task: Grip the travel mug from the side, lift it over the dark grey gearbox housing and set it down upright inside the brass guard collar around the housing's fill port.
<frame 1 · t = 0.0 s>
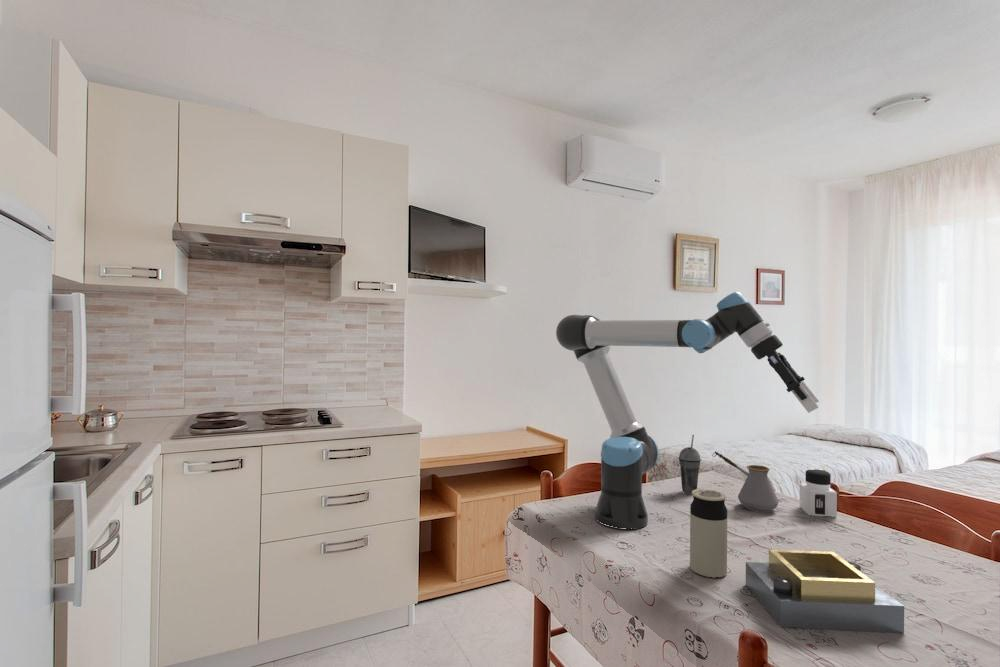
hand: (814, 406, 133), 36 cm above the table, tool tilted 35°, fingers open, 13 cm apart
beverage cup: (689, 493, 174), on the table
coffee pot: (742, 504, 163), on the table
container: (817, 513, 156), on the table
travel mug: (708, 571, 117), on the table
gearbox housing: (817, 606, 102), on the table
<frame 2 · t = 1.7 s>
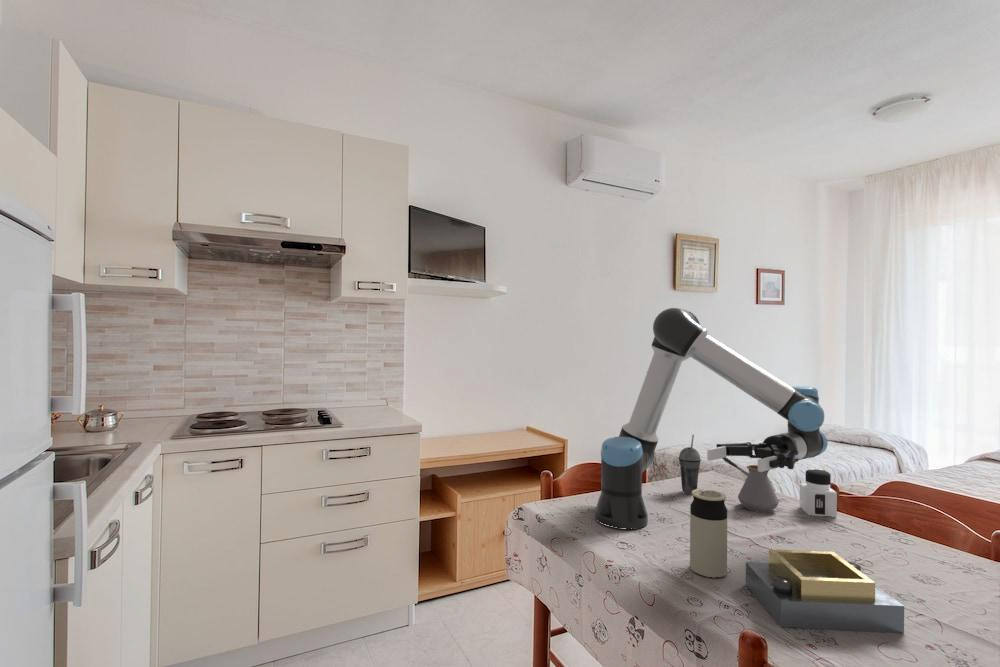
hand: (732, 460, 122), 24 cm above the table, tool horizontal, fingers open, 13 cm apart
nothing on the table moved.
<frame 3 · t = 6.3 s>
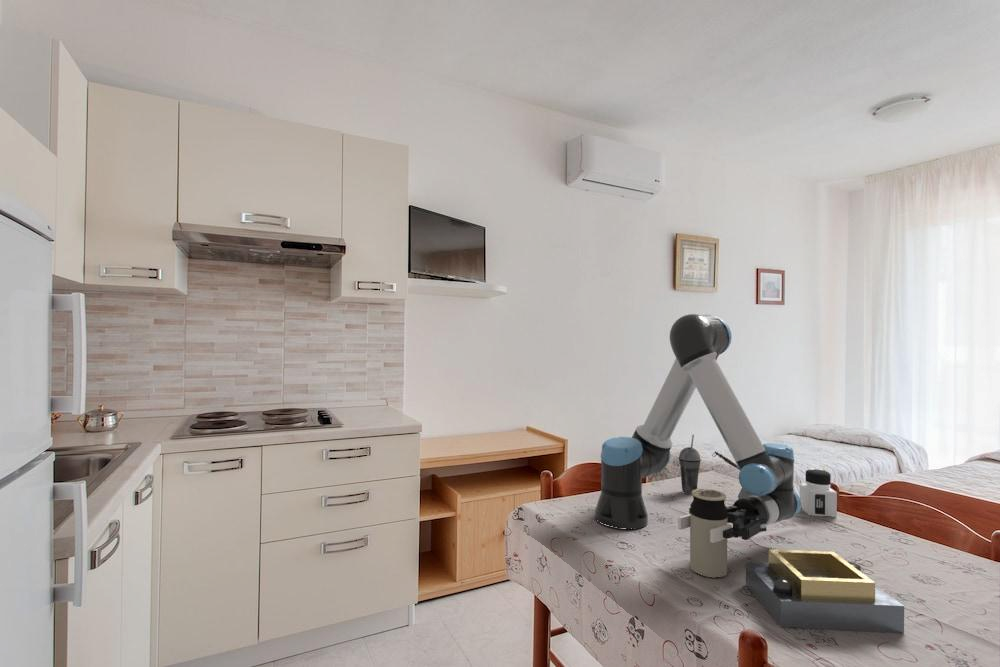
hand: (695, 529, 115), 11 cm above the table, tool horizontal, fingers closed on travel mug, 8 cm apart
travel mug: (708, 571, 117), on the table, touching gripper
everything else where it was.
when the fingers open (17 cm above the table, at t = 11.3 s): travel mug drops 1 cm, resting on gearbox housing.
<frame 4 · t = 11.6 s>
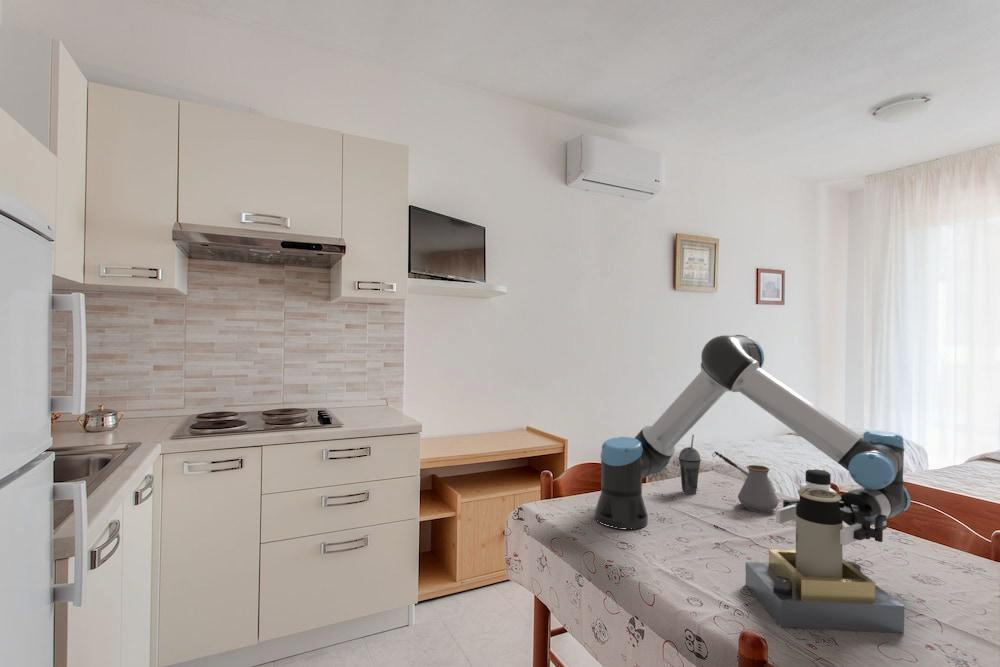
hand: (808, 526, 100), 17 cm above the table, tool horizontal, fingers open, 11 cm apart
travel mug: (818, 583, 102), point 5 cm above the table, touching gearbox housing
everything else where it was.
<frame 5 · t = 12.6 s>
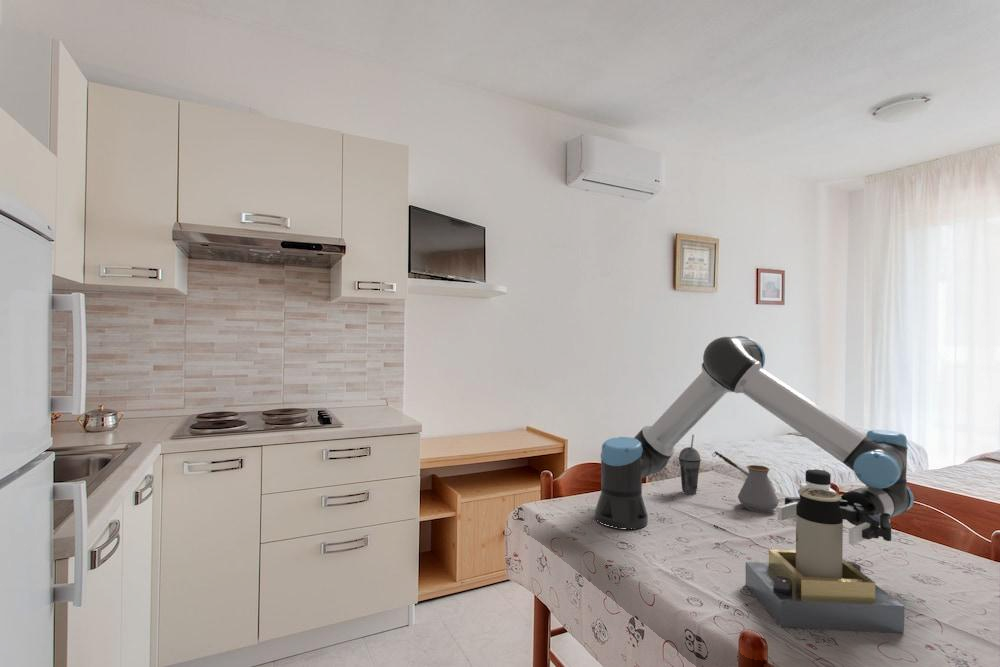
hand: (813, 524, 101), 17 cm above the table, tool horizontal, fingers open, 13 cm apart
nothing on the table moved.
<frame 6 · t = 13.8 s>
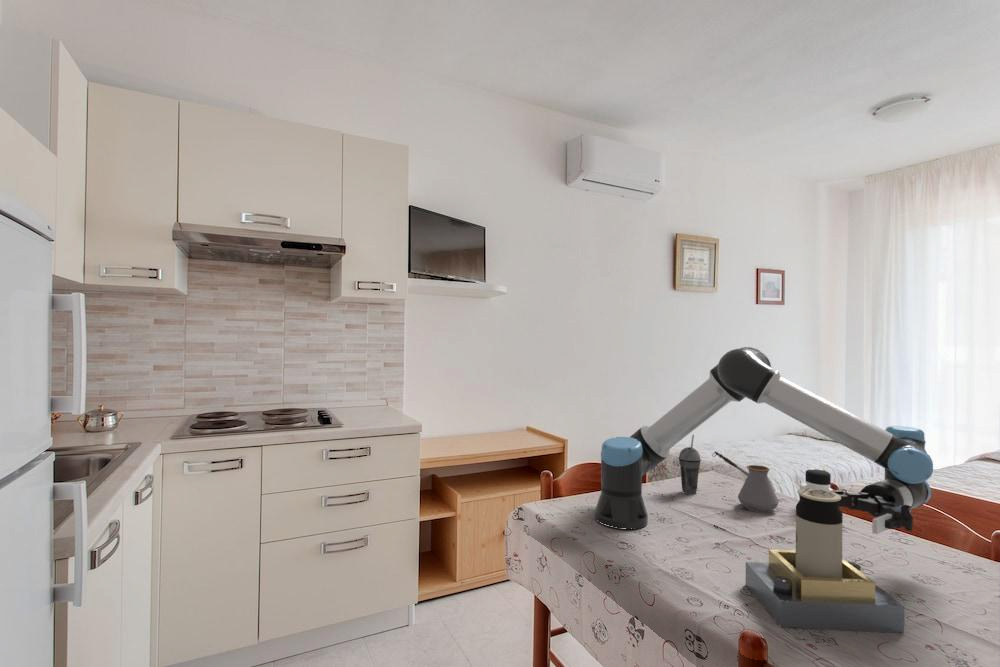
hand: (837, 515, 105), 17 cm above the table, tool horizontal, fingers open, 13 cm apart
nothing on the table moved.
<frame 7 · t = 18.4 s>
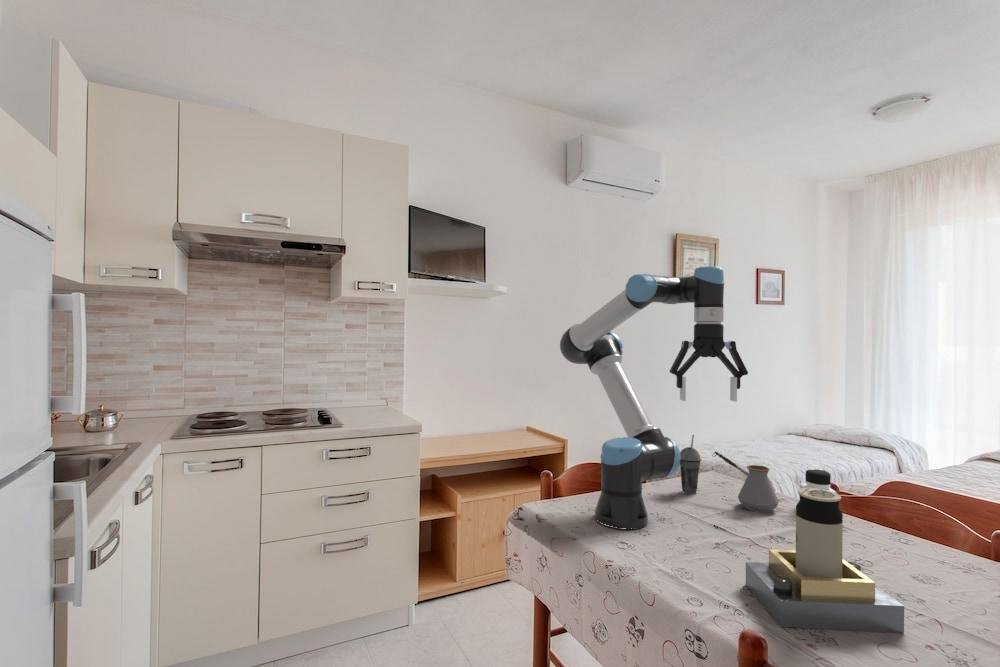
hand: (708, 400, 138), 37 cm above the table, tool pointing down, fingers open, 13 cm apart
nothing on the table moved.
at the end: travel mug 0.0 cm off-centre on the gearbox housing, point 4.8 cm above the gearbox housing's base; travel mug tilted 0°; the gripper is holding nothing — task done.
